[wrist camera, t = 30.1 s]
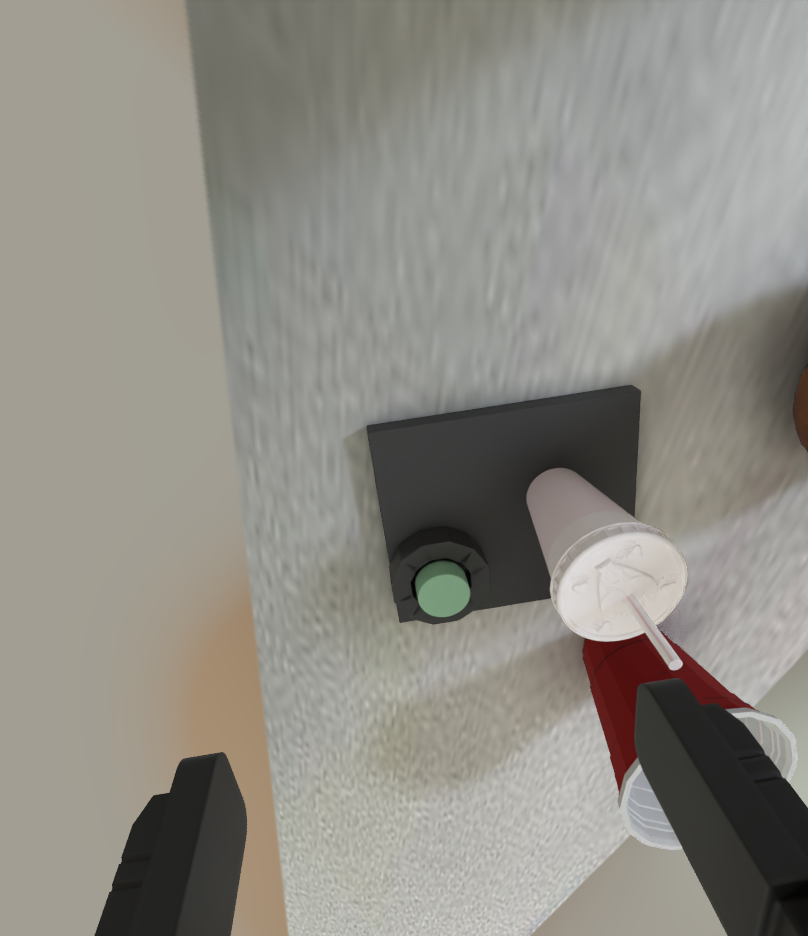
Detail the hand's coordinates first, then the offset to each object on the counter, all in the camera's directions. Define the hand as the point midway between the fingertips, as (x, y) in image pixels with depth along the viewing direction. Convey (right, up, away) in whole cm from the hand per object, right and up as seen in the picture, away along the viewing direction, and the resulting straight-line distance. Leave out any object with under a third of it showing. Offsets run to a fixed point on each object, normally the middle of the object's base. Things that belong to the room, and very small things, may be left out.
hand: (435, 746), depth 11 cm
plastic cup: (+16, -8, +32) cm, 36 cm away
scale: (+6, +3, +26) cm, 27 cm away
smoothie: (+9, +4, +25) cm, 26 cm away
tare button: (+2, -2, +25) cm, 25 cm away
